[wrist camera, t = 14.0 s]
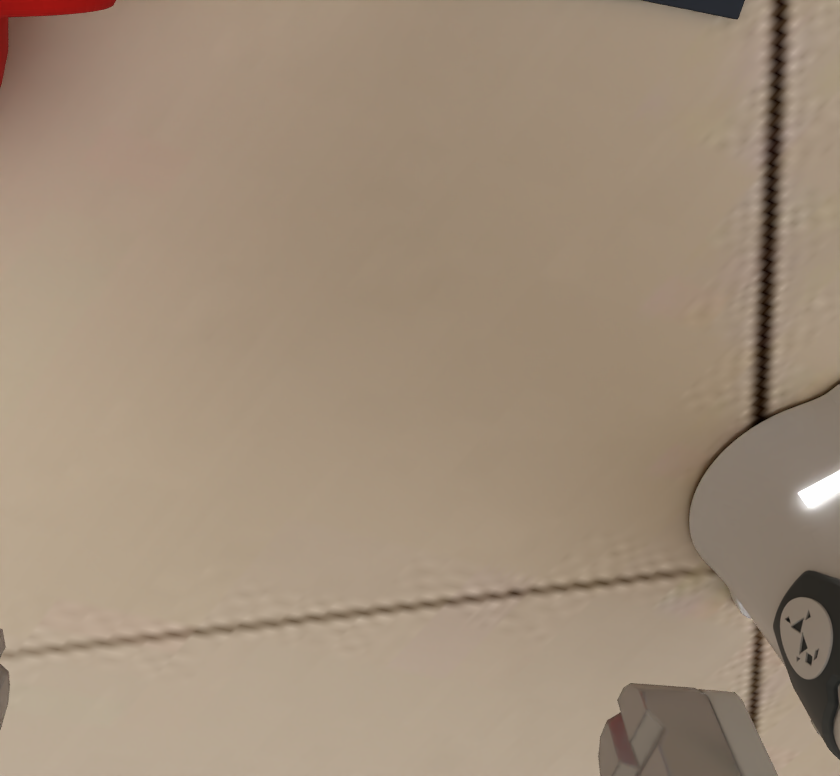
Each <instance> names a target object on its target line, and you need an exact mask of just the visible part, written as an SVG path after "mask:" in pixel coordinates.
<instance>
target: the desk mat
mask: <svg viewBox="0 0 840 776" xmlns="http://www.w3.org/2000/svg"><path fill="white" fill-rule="evenodd" d="M643 1H648V2H653V3H658V4H663V5H668V6H673V7H678V8H683V9H688V10H693V11H698V12H703V13H708V14H713V15H718V16H723V17H728V18H733V19H738V18H739V15H740V12H741V9H742V7H743V4H744V1H745V0H643Z"/></svg>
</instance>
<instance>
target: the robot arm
mask: <svg viewBox="0 0 840 776" xmlns="http://www.w3.org/2000/svg"><path fill="white" fill-rule="evenodd" d="M689 529H690V535H691V538H692V542H693V544H694V546H695V548H696V550H697V552H698V553H699V555H700V556H701V558H702V559H703V560H704V561H705V562H706V563H707V564H708V565H709V566H710V567H711V568H712V569H713V570H714V571H715V572H716V574H717V575H718V576H719V577H720V578H721V579H722V580H723V581H724V583H725V584H726V585H727V586H728V588H729V591H730V594H731V597H732V599H733V601H734V603H735V604H736V606H737V607H738V609H739V610H740V612H741V613H742V614H743V615H744V616H746V617H748V618H751V619H752V620H753V621H754V622H755V624H756V625H757V627H758V628H759V630H760V631H761V632H762V634H763V635H764V637H765V638H766V639H767V641H768V642H769V644H770V645H771V647H772V648H773V649H774V651H775V652H776V654H777V655H778V657H779V658H780V659H781V661H782V662H783V664H784V665H785V666H786V668H787V671H788V674H789V677H790V680H791V683H792V685H793V688H794V689H795V691H796V693H797V695H798V697H799V698H800V700H801V702H802V704H803V706H804V707H805V709H806V711H807V713H808V715H809V716H810V718H811V722H812V724H813V726H814V728H815V729H816V731H817V733H818V734H819V735H820V736H821V737H822V738H823V740H824V742H825V743H826V745H827V747H828V748H829V750H830V751H831V752H832V753H833V754H834V755H835V756H836V757H837V758H838V759H840V384H838V385H837V386H836V387H834V388H833V389H832V390H830V391H829V392H828V393H826V394H825V395H823V396H821V397H819V398H817V399H814V400H812V401H810V402H807V403H804V404H801V405H799V406H796V407H793V408H790V409H788V410H785V411H783V412H781V413H778V414H776V415H774V416H772V417H770V418H768V419H766V420H764V421H763V422H761V423H759V424H757V425H756V426H754V427H753V428H751V429H749V430H748V431H747V432H745V433H744V434H742V435H741V436H740V437H739V438H737V439H736V440H735V441H734V442H732V443H731V444H730V445H729V446H728V447H727V448H726V449H725V450H724V451H723V452H722V453H721V454H720V455H719V456H718V457H717V458H716V459H715V461H714V462H713V463H712V464H711V466H710V467H709V468H708V470H707V471H706V473H705V474H704V476H703V477H702V479H701V481H700V483H699V485H698V487H697V489H696V491H695V494H694V497H693V500H692V503H691V507H690V514H689ZM4 649H5V641H4V635H3V630H2V629H0V657H1V655H2V653H3V651H4ZM9 689H10V681H9V671H8V670H7V669H5V668H4V667H3V666H2V665H1V664H0V729H1V727H2V723H3V719H4V716H5V712H6V709H7V705H8V700H9ZM617 701H618V704H619V707H620V711H621V712H620V713H619V714H617V715H615V716H614V717H612V718H611V719H609V720H607V722H606V724H605V727H604V729H603V731H602V734H601V736H600V745H599V755H598V758H599V768H600V775H601V776H778V774H777V772H776V770H775V768H774V766H773V764H772V762H771V760H770V757H769V755H768V753H767V751H766V749H765V747H764V745H763V743H762V741H761V738H760V736H759V734H758V732H757V730H756V728H755V726H754V724H753V722H752V720H751V717H750V715H749V713H748V711H747V709H746V707H745V705H744V703H743V701H742V699H741V698H740V697H739V696H738V695H737V694H736V693H735V692H727V691H715V690H704V689H696V688H690V687H676V686H663V685H649V684H636V683H630V684H629V685H627V686H626V687H624V688H623V690H622V692H621V694H620V696H619V698H618V700H617Z"/></svg>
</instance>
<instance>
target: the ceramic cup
mask: <svg viewBox="0 0 840 776" xmlns="http://www.w3.org/2000/svg"><path fill="white" fill-rule="evenodd" d="M115 1H116V0H0V87H1V84H2V79H3V74H4V70H5V65H6V60H7V55H8V17H28V16H50V15H65V14H76V13H85V12H93V11H99V10H103V9H107V8H109V7H111V6H113V5H114V3H115Z"/></svg>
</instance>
